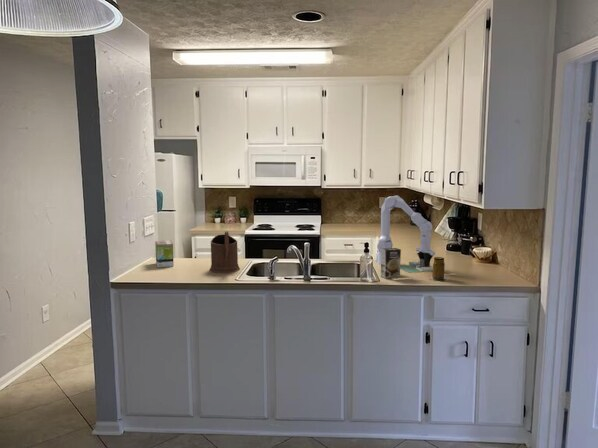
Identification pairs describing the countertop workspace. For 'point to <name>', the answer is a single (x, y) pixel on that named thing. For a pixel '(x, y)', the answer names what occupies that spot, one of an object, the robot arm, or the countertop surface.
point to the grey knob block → (414, 263)
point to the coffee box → (390, 262)
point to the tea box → (164, 254)
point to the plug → (423, 263)
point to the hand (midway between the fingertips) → (424, 265)
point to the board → (416, 269)
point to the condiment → (438, 269)
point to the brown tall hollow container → (224, 254)
